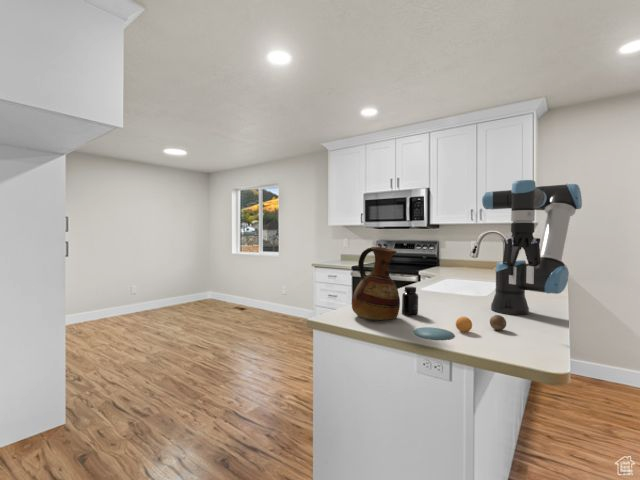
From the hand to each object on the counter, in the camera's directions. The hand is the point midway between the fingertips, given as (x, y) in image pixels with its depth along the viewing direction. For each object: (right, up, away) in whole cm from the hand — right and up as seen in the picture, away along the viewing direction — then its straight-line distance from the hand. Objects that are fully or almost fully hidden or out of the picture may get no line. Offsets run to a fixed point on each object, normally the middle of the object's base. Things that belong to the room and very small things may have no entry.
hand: (521, 283), depth 126 cm
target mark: (-35, -17, -6) cm, 39 cm away
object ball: (-23, -14, -4) cm, 28 cm away
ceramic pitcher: (-52, -17, +15) cm, 57 cm away
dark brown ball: (-9, -14, -1) cm, 17 cm away
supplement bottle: (-36, -16, +21) cm, 45 cm away
